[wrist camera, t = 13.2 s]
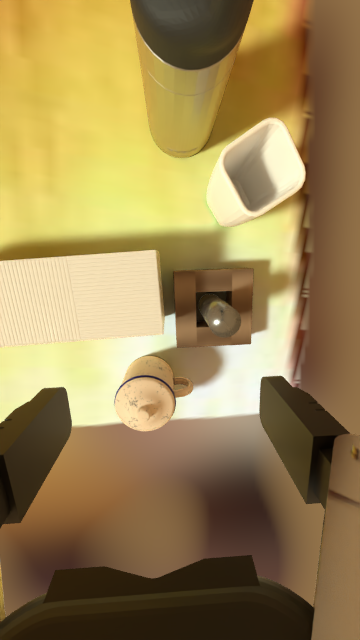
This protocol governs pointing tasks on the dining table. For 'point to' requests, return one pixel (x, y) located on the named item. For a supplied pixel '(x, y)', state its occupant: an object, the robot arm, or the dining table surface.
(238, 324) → the metal pin
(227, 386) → the dining table surface
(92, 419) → the dining table surface
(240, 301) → the socket block
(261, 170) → the cup
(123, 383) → the teacup with lid
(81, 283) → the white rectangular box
